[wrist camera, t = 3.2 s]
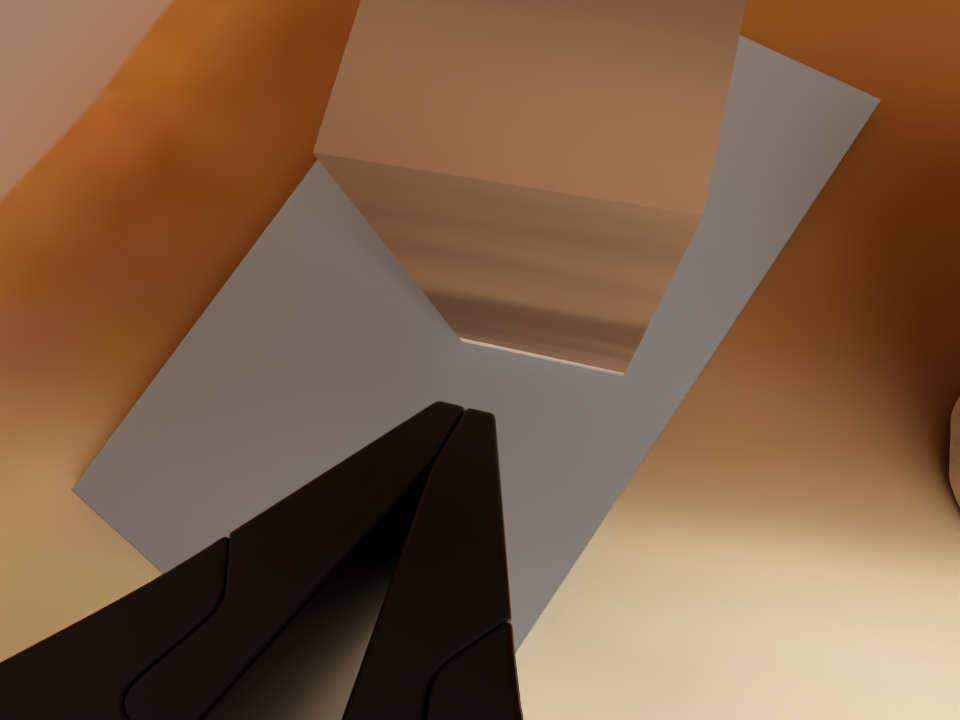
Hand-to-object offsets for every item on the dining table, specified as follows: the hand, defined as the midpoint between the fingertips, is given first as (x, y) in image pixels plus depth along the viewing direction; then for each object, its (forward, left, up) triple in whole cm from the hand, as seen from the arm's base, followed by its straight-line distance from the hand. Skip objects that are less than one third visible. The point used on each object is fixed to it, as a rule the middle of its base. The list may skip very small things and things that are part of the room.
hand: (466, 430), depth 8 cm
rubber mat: (+3, +4, -8) cm, 9 cm away
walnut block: (+5, +2, -8) cm, 9 cm away
